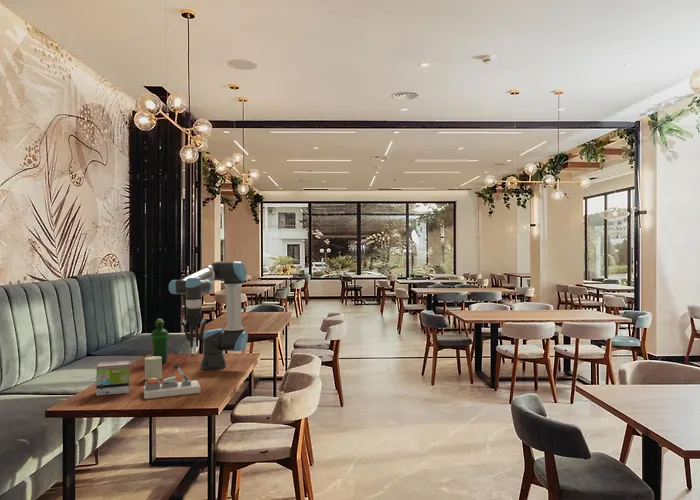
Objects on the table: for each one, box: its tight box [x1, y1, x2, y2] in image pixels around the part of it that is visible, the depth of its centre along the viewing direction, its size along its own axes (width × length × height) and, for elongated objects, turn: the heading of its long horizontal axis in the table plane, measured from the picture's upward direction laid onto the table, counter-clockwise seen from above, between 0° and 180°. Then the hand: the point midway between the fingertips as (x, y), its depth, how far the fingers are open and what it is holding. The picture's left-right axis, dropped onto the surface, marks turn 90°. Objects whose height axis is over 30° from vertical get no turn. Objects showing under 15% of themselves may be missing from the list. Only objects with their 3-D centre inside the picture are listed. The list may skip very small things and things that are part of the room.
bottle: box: [150, 318, 170, 365], centre depth 327 cm, size 11×11×28 cm
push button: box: [147, 378, 159, 384], centre depth 254 cm, size 5×5×3 cm
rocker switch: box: [162, 375, 177, 383], centre depth 257 cm, size 6×4×1 cm, turn 114°
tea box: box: [95, 360, 130, 397], centre depth 258 cm, size 15×10×15 cm
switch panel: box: [143, 378, 201, 400], centre depth 257 cm, size 26×14×6 cm, turn 114°
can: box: [144, 355, 163, 381], centre depth 286 cm, size 9×9×12 cm
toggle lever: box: [173, 363, 189, 380], centre depth 259 cm, size 2×2×10 cm
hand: (194, 353), depth 262 cm, fingers closed
